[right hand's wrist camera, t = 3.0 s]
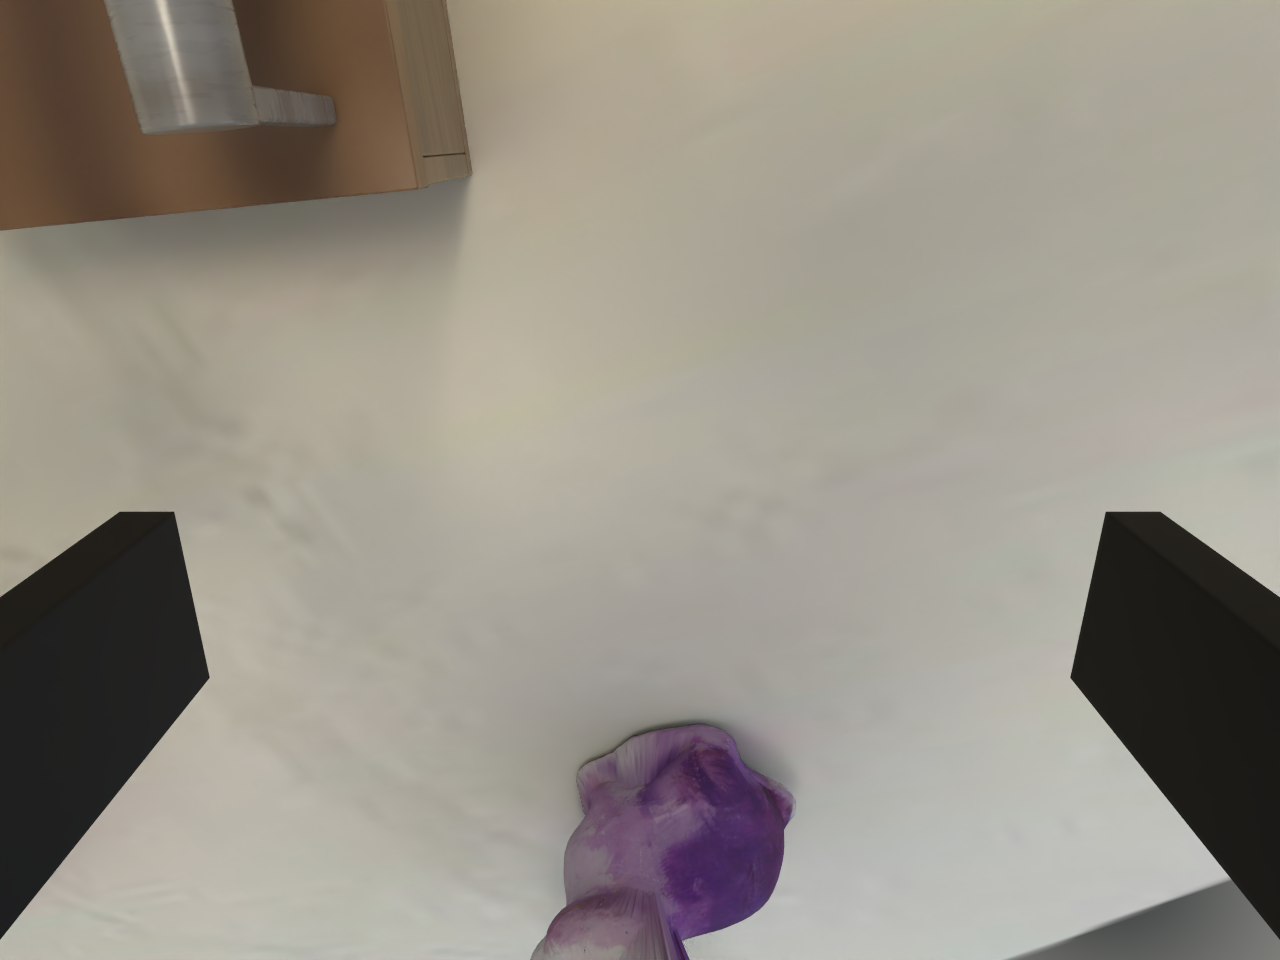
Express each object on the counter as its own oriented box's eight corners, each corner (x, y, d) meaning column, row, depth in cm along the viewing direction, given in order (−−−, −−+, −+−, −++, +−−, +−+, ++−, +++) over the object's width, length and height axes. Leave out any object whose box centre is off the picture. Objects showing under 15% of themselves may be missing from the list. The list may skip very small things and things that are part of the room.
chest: (429, -108, 30) (334, -218, 21) (472, 175, 34) (408, 189, 24) (-4, -60, 31) (-284, -146, 21) (82, 213, 34) (-128, 241, 25)
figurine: (531, 809, 45) (480, 1115, 31) (655, 677, 42) (661, 949, 28) (674, 895, 47) (687, 1218, 33) (801, 775, 44) (875, 1074, 30)
